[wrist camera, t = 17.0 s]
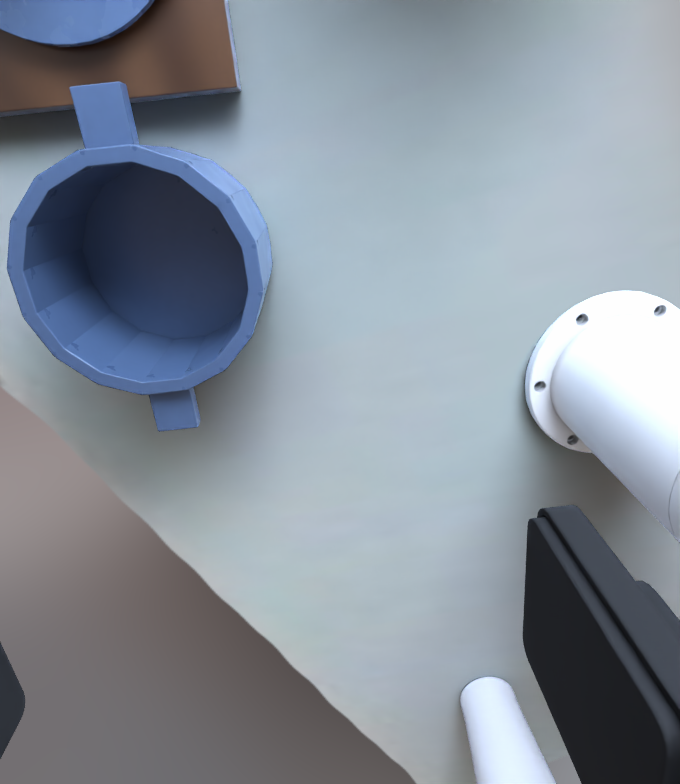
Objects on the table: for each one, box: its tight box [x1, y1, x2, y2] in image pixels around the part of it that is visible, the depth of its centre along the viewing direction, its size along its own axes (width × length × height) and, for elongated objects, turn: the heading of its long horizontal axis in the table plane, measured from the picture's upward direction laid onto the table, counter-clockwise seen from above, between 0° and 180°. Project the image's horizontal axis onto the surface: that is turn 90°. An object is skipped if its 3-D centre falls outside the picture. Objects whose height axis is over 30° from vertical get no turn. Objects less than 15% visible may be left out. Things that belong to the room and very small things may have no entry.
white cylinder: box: [460, 677, 557, 784], centre depth 47 cm, size 7×7×15 cm
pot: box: [7, 82, 273, 432], centre depth 32 cm, size 13×18×8 cm
